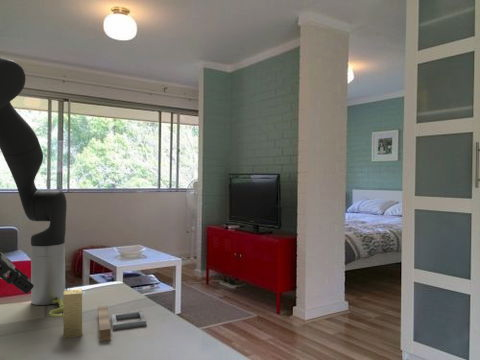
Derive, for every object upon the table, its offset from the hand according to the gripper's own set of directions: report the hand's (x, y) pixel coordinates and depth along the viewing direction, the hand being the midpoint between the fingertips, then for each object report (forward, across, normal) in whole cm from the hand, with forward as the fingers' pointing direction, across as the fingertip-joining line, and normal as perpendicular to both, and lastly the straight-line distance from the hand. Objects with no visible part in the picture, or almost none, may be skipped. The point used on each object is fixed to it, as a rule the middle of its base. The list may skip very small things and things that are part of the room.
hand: (27, 285), depth 91 cm
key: (+18, +20, +2) cm, 26 cm away
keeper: (+25, 0, -7) cm, 26 cm away
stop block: (+16, 0, +2) cm, 16 cm away
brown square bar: (+21, 0, -3) cm, 21 cm away
